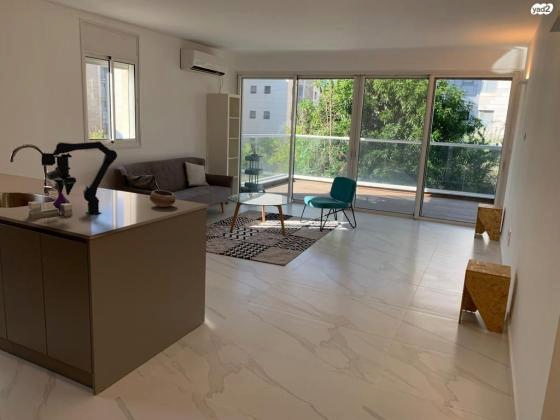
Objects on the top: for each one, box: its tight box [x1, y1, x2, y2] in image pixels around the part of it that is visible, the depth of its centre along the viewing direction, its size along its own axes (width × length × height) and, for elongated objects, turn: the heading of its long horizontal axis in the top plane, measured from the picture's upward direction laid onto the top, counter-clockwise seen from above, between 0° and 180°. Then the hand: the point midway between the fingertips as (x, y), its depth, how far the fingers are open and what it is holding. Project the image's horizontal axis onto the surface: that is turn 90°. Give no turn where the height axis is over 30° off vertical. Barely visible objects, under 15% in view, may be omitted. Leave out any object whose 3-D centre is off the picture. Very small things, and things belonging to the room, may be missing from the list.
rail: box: [27, 201, 61, 220], centre depth 239 cm, size 6×14×8 cm, turn 140°
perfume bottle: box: [52, 182, 71, 210], centre depth 258 cm, size 8×8×18 cm
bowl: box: [149, 189, 176, 208], centre depth 280 cm, size 16×16×10 cm
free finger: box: [59, 203, 73, 217], centre depth 245 cm, size 5×4×6 cm
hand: (64, 193), depth 243 cm, fingers open, 9 cm apart
